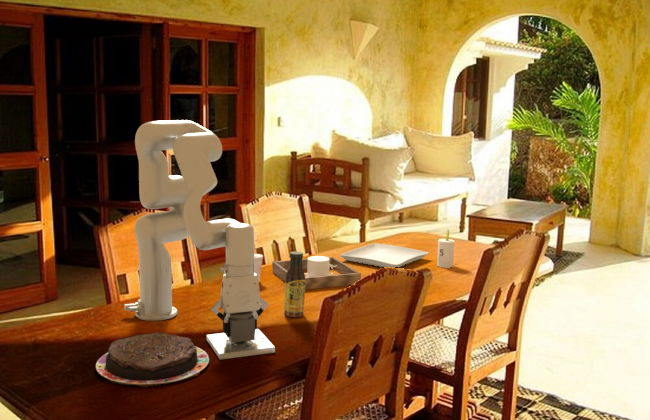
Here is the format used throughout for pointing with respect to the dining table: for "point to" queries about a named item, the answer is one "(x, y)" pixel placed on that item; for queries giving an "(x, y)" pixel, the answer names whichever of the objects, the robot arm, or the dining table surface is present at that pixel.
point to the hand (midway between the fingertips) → (240, 333)
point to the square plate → (383, 255)
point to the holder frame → (345, 278)
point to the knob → (242, 327)
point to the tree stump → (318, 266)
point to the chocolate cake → (151, 360)
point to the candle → (445, 252)
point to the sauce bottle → (294, 287)
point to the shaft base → (239, 346)
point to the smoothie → (257, 264)
